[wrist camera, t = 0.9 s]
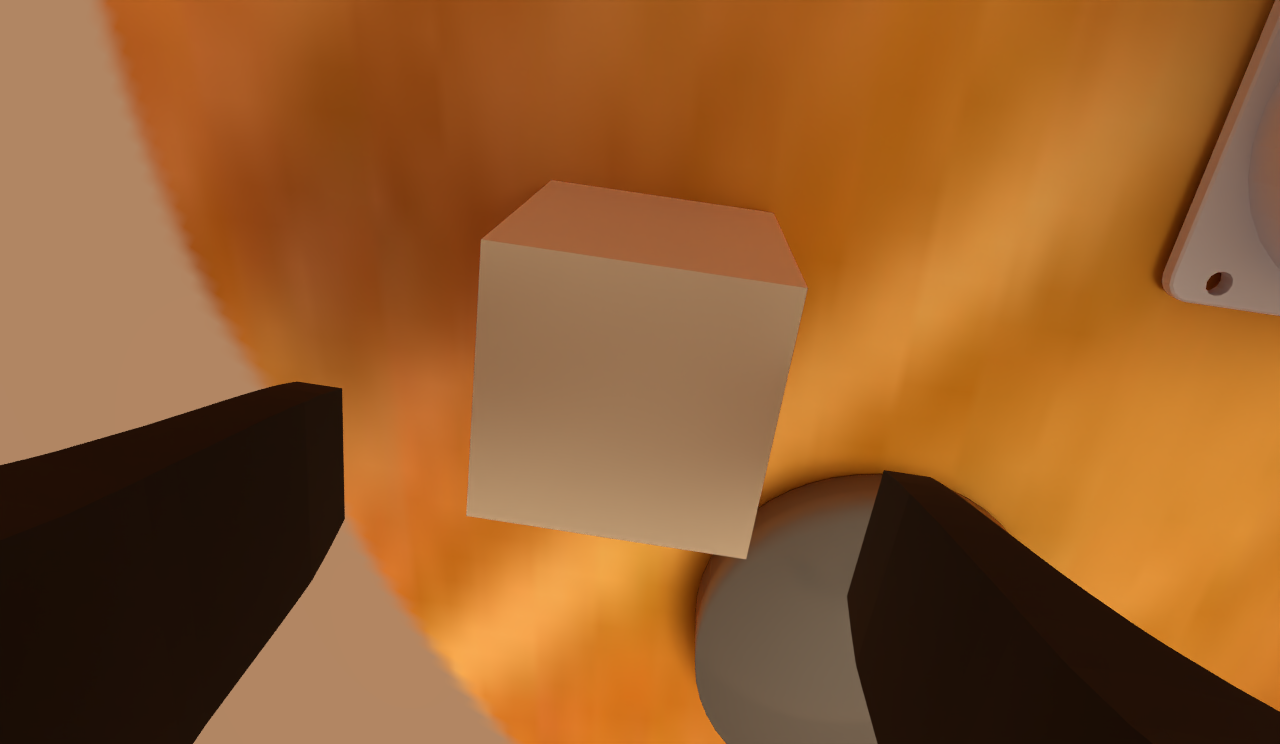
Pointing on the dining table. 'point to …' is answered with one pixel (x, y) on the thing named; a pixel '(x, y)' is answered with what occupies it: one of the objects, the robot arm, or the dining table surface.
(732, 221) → the cream block
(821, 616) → the slate trivet
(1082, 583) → the dining table surface
